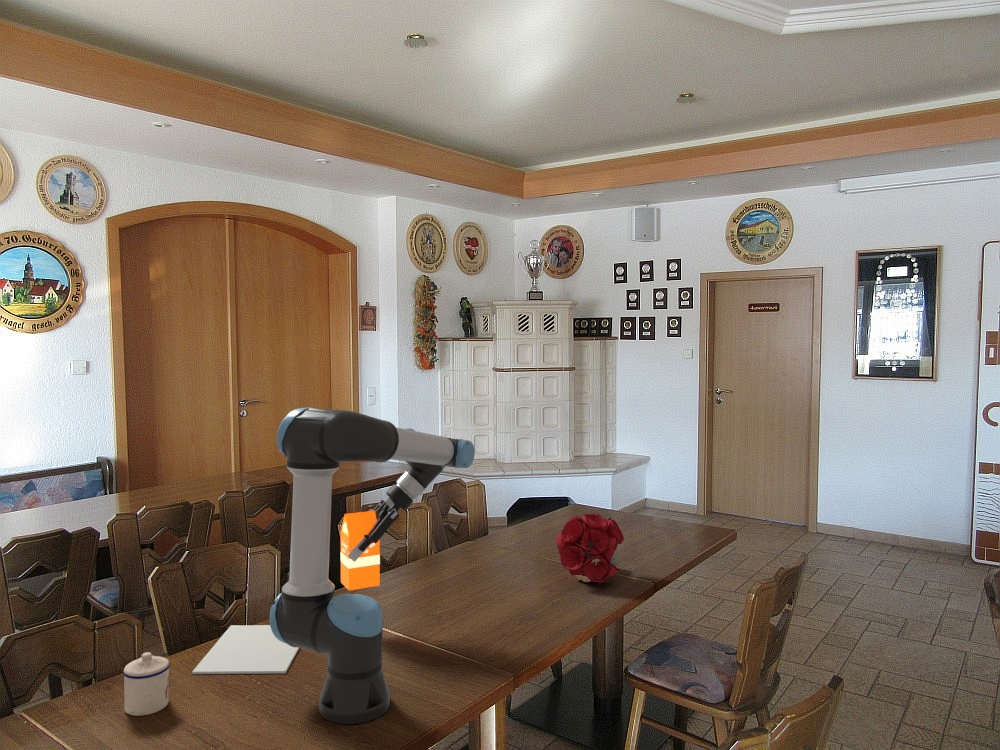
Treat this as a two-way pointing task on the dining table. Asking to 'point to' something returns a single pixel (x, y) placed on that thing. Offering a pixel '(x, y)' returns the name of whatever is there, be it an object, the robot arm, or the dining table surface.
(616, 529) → the bouquet
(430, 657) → the dining table surface
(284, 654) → the rubber mat
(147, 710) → the teacup with lid
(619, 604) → the dining table surface
